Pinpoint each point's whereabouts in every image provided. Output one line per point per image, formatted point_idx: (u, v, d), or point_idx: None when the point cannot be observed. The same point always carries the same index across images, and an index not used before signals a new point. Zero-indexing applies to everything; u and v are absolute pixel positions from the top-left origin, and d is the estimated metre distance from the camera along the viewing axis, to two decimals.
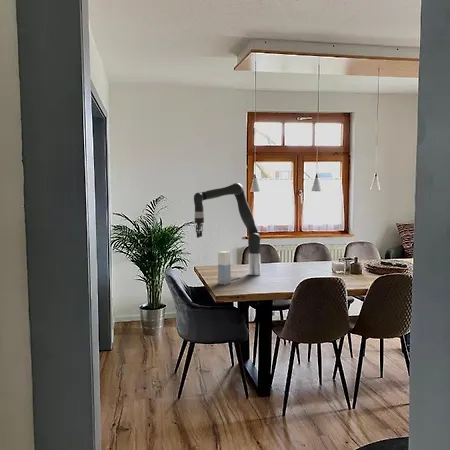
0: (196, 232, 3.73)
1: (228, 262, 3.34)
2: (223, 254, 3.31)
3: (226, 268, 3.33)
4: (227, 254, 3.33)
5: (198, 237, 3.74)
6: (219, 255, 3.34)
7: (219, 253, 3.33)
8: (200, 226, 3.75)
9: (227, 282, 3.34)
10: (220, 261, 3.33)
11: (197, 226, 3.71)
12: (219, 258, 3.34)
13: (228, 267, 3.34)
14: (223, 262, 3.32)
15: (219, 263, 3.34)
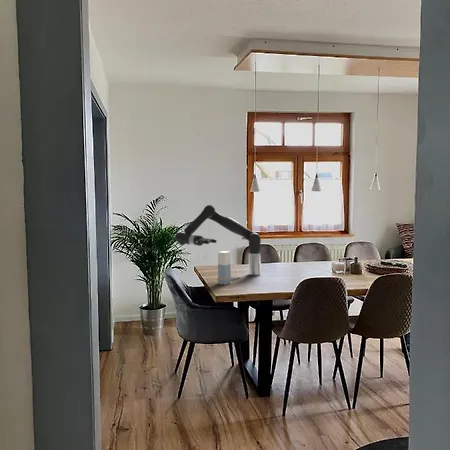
0: (203, 243, 3.40)
1: (228, 262, 3.34)
2: (223, 254, 3.31)
3: (226, 268, 3.33)
4: (227, 254, 3.33)
5: (208, 242, 3.38)
6: (219, 255, 3.34)
7: (219, 253, 3.33)
8: (201, 239, 3.45)
9: (227, 282, 3.34)
10: (220, 261, 3.33)
11: (196, 241, 3.42)
12: (219, 258, 3.34)
13: (228, 267, 3.34)
14: (223, 262, 3.32)
15: (219, 263, 3.34)
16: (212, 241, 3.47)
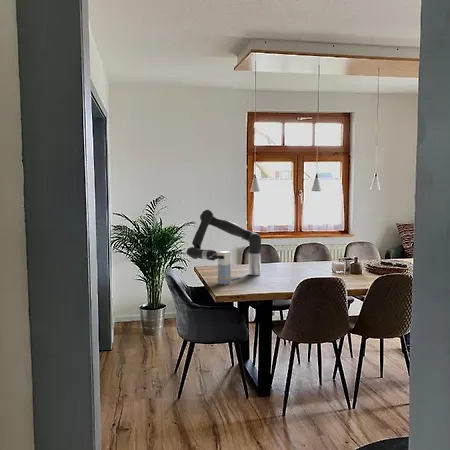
0: (218, 258, 3.33)
1: (228, 262, 3.34)
2: (223, 254, 3.31)
3: (226, 268, 3.33)
4: (227, 254, 3.33)
5: (223, 257, 3.31)
6: (219, 255, 3.34)
7: (219, 253, 3.33)
8: (215, 254, 3.38)
9: (227, 282, 3.34)
10: (220, 261, 3.33)
11: (211, 256, 3.34)
12: None
13: (228, 267, 3.34)
14: (223, 262, 3.31)
15: (219, 263, 3.34)
16: None
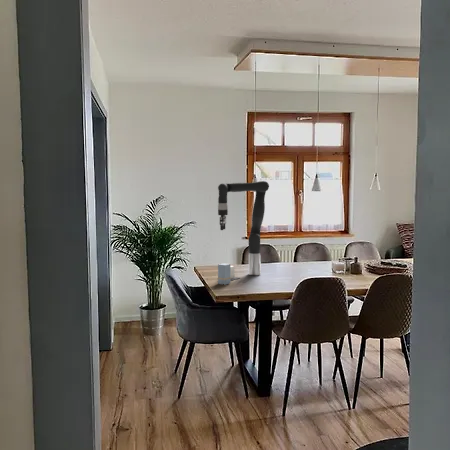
0: (220, 224, 3.61)
1: (232, 276, 3.53)
2: None
3: (226, 268, 3.33)
4: (231, 268, 3.52)
5: (222, 229, 3.62)
6: None
7: None
8: (224, 218, 3.63)
9: (227, 282, 3.34)
10: None
11: (221, 218, 3.59)
12: None
13: (228, 267, 3.34)
14: None
15: None
16: (223, 224, 3.70)
